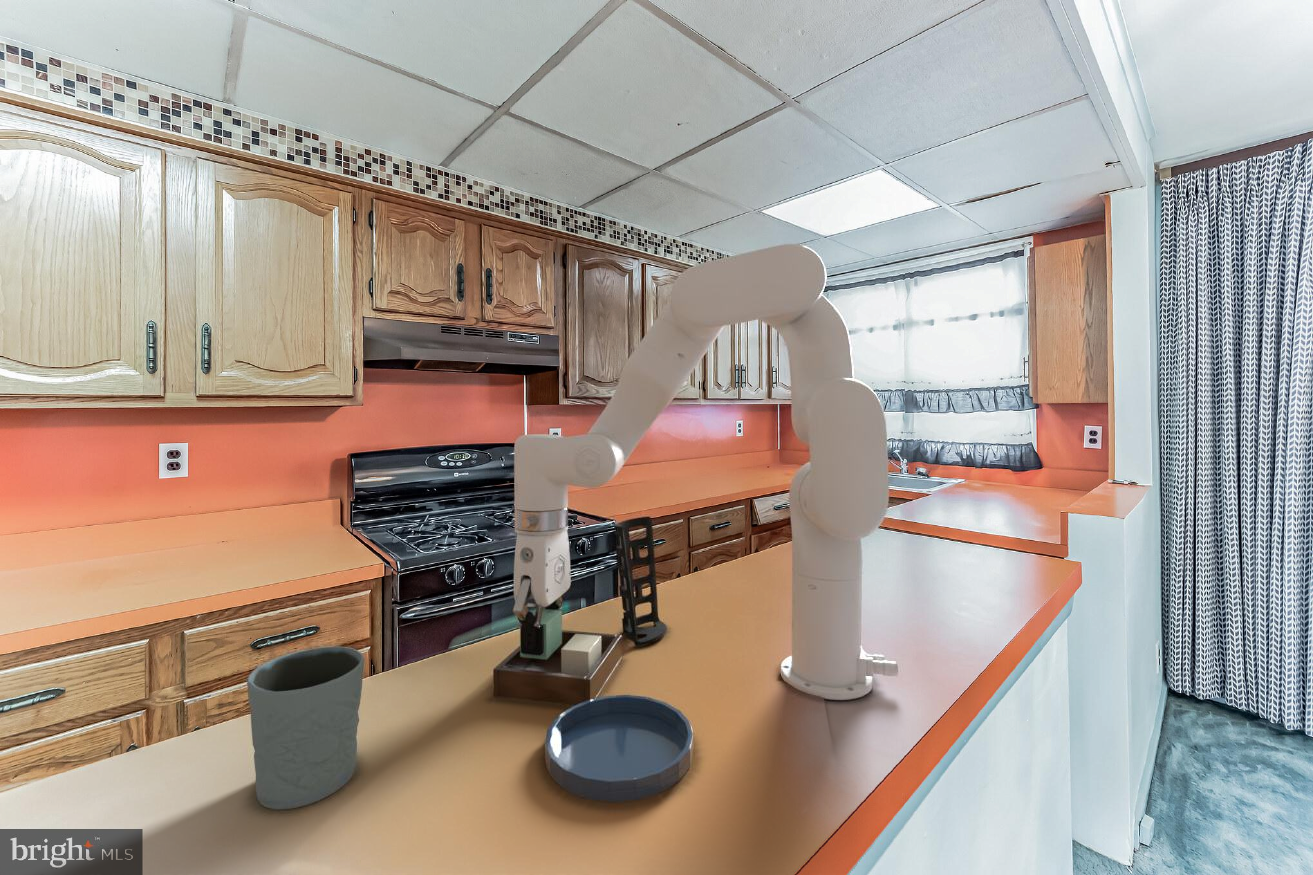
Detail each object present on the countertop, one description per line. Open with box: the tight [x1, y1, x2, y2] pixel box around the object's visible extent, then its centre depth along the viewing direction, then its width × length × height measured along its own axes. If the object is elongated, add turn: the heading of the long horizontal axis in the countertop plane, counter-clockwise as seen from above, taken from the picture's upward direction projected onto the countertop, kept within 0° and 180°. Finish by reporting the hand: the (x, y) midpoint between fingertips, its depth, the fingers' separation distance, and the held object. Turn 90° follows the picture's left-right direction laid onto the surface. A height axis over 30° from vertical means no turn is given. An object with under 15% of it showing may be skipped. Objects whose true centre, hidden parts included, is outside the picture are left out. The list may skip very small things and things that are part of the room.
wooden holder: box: [492, 629, 623, 707], centre depth 77 cm, size 14×15×4 cm
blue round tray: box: [544, 694, 695, 803], centre depth 60 cm, size 16×16×2 cm
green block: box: [519, 609, 563, 660], centre depth 78 cm, size 4×6×5 cm
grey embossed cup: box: [246, 645, 365, 811], centre depth 55 cm, size 10×10×12 cm
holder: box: [613, 516, 668, 648], centre depth 93 cm, size 11×8×20 cm
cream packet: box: [561, 634, 601, 676], centre depth 76 cm, size 4×6×5 cm
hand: (541, 643), depth 78 cm, fingers closed on green block, 5 cm apart
